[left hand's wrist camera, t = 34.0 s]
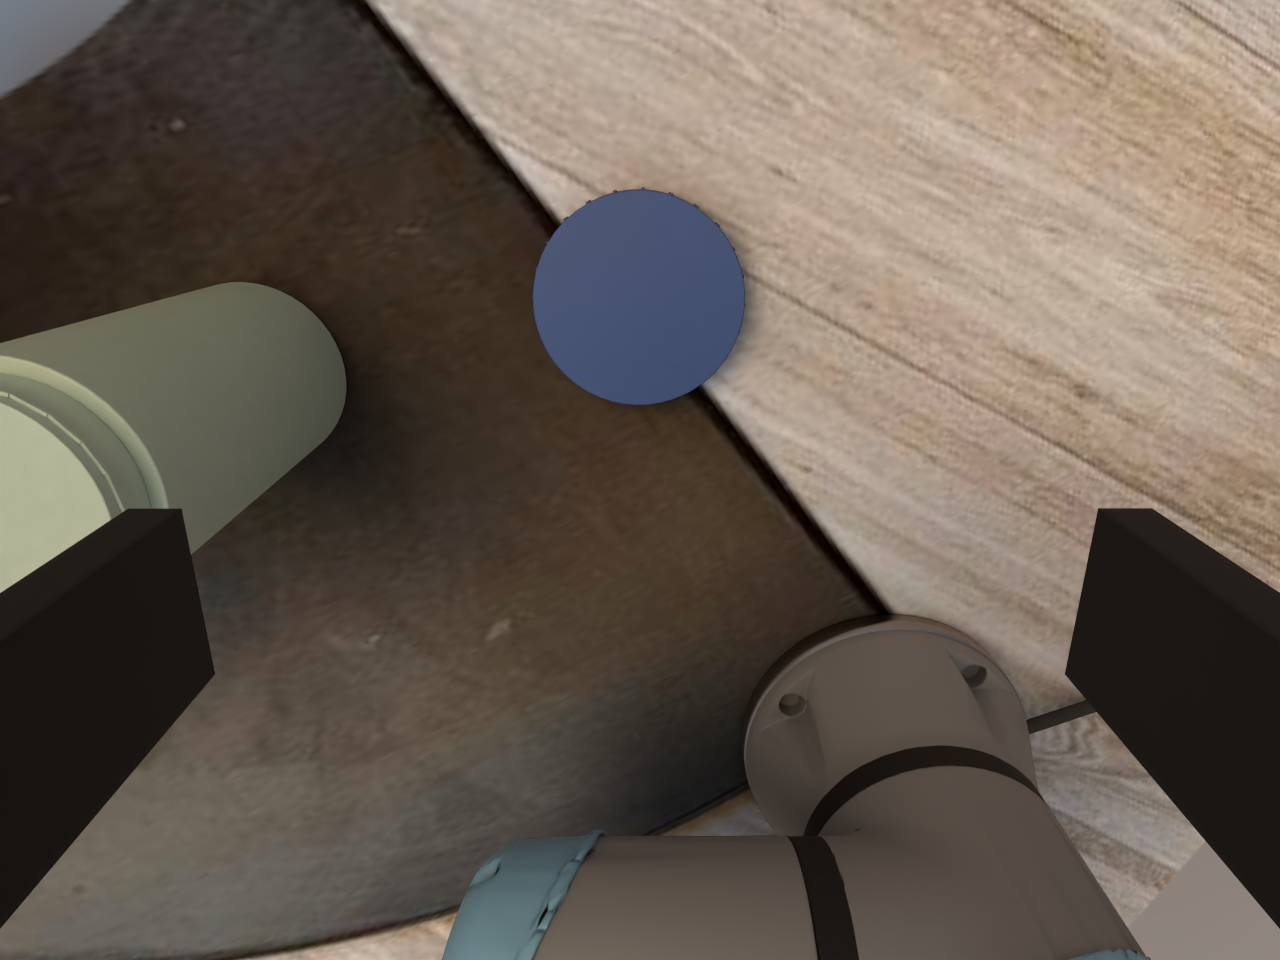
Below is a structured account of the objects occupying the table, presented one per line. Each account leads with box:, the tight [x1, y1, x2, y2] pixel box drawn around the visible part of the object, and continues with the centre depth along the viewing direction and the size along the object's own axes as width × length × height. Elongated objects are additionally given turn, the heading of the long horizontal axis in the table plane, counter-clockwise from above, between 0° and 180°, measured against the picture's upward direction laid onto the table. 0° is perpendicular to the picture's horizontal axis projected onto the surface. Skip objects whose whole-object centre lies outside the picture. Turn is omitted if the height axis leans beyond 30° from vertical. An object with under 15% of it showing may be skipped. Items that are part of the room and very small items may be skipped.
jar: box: [0, 282, 346, 593], centre depth 32 cm, size 9×9×18 cm
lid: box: [532, 187, 745, 405], centre depth 38 cm, size 9×10×2 cm
